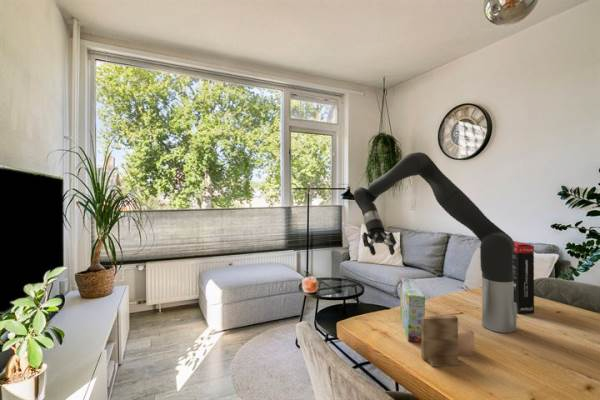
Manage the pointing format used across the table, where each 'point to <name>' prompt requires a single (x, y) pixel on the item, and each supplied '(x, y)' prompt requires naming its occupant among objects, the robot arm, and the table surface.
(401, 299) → the snack box
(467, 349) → the pinkish-brown rounded piece
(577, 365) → the table surface
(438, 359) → the walnut bookend
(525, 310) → the graphics card box
